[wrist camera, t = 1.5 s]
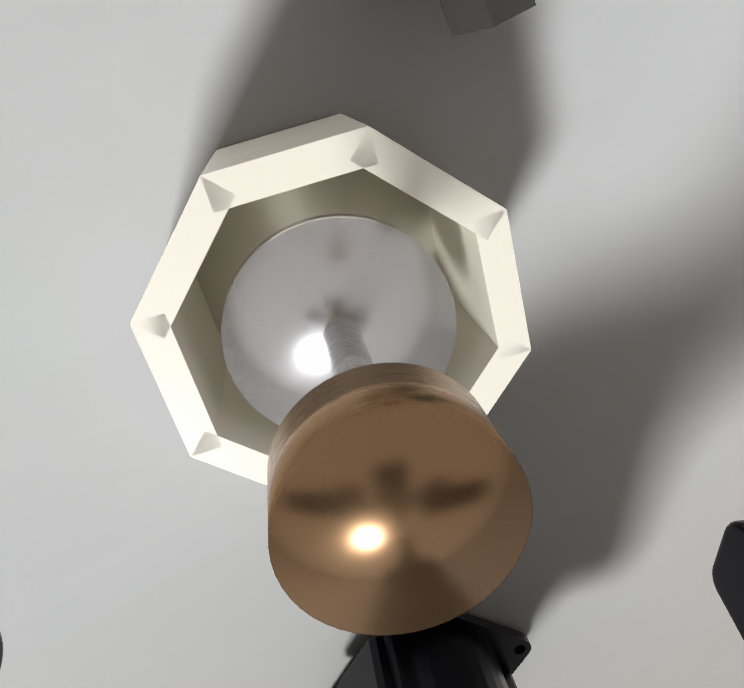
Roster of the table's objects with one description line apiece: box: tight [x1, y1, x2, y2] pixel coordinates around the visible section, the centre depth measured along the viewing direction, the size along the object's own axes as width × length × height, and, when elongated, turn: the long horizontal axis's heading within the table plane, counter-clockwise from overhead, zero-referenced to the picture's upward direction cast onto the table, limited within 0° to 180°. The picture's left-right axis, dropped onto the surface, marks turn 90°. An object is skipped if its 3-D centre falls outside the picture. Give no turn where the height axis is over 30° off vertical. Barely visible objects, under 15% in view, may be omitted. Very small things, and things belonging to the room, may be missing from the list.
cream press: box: [130, 113, 531, 485], centre depth 18 cm, size 11×9×5 cm
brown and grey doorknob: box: [221, 213, 532, 635], centre depth 12 cm, size 6×6×8 cm
